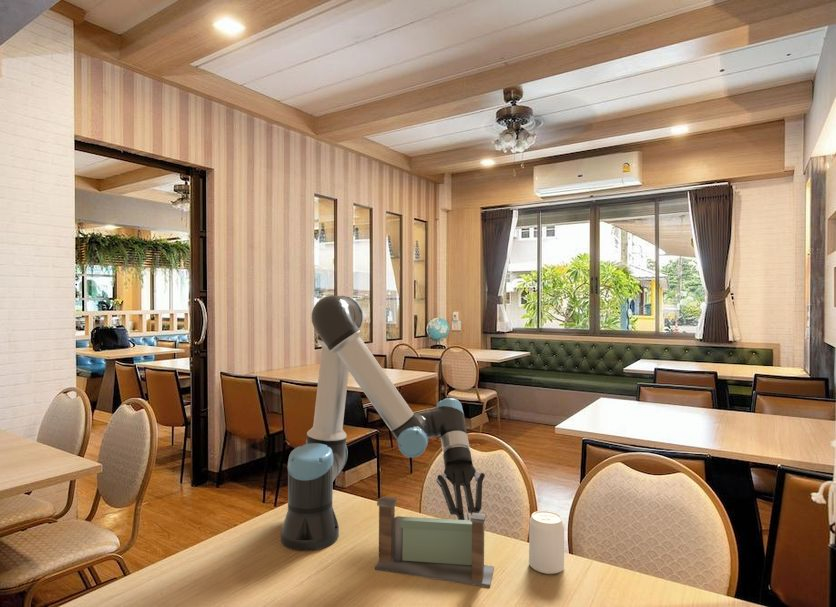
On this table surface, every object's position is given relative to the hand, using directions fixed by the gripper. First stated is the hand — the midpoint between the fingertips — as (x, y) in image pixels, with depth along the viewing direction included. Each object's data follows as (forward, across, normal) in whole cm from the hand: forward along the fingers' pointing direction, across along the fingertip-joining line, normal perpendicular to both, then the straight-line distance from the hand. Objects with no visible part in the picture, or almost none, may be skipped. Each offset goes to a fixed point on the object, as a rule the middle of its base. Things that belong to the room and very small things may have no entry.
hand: (470, 542), depth 121 cm
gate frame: (+5, +9, -2) cm, 11 cm away
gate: (+3, +8, -3) cm, 9 cm away
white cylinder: (+7, -18, -1) cm, 19 cm away
